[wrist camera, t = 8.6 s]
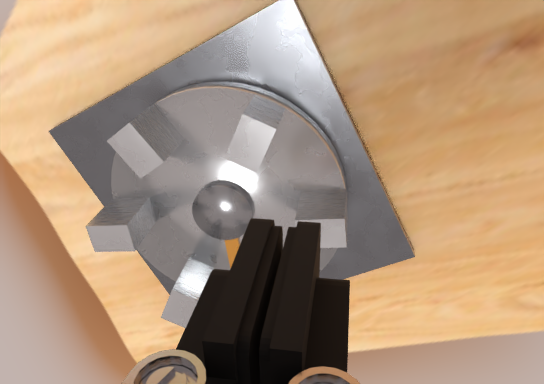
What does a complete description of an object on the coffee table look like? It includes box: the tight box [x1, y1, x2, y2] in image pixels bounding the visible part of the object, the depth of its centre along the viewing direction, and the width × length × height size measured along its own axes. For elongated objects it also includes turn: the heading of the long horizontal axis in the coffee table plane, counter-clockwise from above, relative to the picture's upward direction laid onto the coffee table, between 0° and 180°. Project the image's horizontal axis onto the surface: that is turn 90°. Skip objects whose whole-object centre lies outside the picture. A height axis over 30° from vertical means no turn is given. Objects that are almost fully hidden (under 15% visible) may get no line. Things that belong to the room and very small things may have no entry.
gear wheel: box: [86, 81, 348, 328], centre depth 38 cm, size 20×20×6 cm
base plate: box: [49, 0, 415, 294], centre depth 41 cm, size 24×24×1 cm
